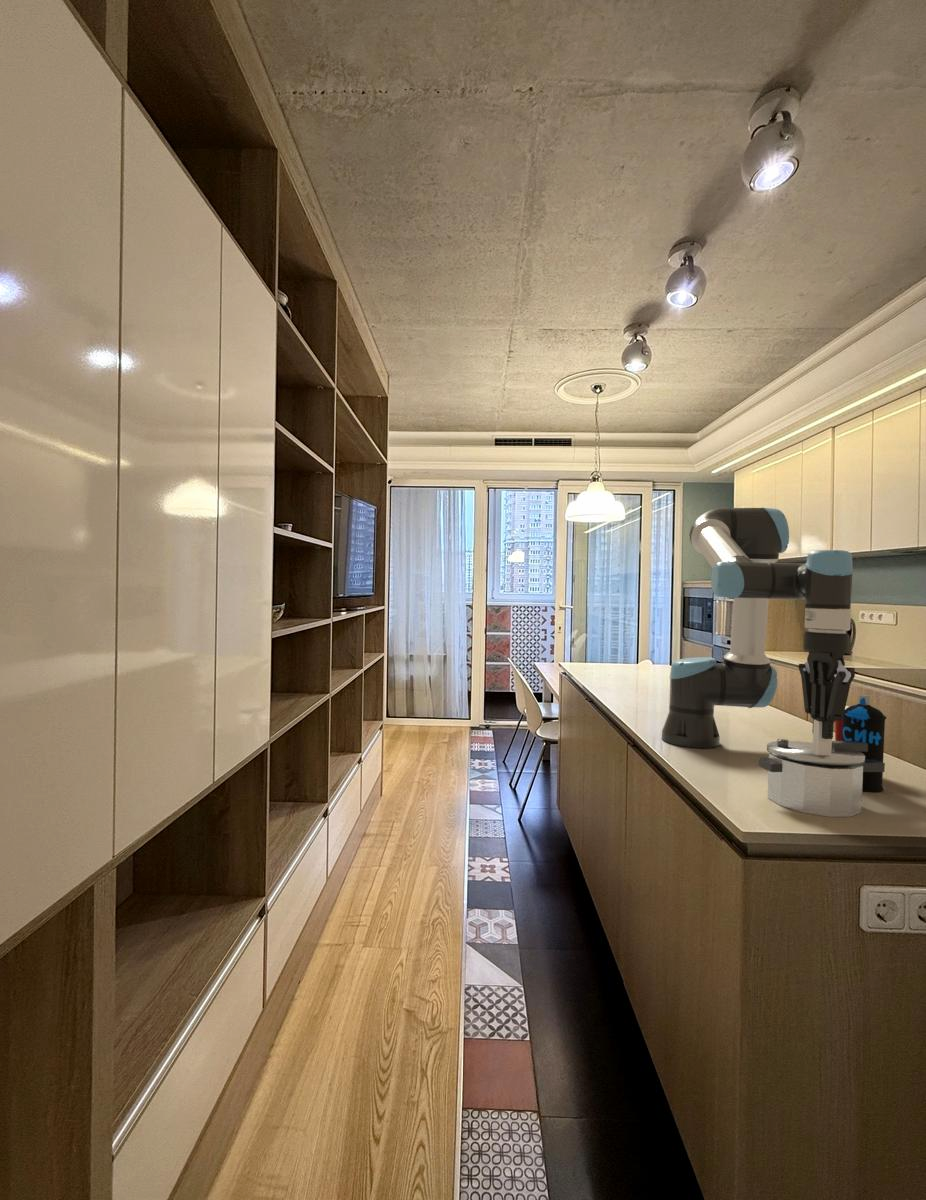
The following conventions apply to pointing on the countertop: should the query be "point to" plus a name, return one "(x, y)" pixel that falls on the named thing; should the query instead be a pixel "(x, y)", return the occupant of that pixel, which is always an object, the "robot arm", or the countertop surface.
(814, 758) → the lid
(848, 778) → the pot
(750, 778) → the countertop surface
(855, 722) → the aerosol can
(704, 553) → the robot arm
